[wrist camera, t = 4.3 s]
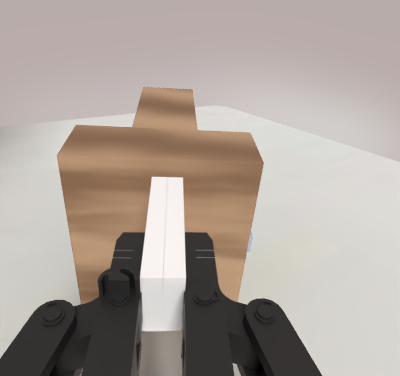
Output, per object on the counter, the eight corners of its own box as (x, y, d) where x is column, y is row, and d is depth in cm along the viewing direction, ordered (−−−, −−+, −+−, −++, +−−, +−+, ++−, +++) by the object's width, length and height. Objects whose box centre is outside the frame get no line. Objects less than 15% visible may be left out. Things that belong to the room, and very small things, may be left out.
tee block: (111, 210, 39) (101, 84, 32) (217, 212, 40) (232, 91, 33) (82, 315, 27) (56, 155, 20) (234, 315, 28) (263, 162, 21)
